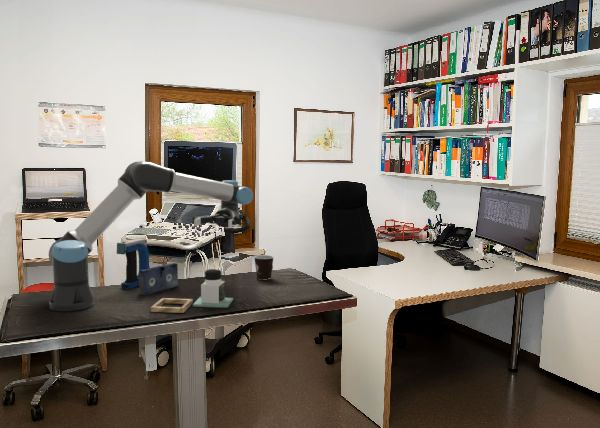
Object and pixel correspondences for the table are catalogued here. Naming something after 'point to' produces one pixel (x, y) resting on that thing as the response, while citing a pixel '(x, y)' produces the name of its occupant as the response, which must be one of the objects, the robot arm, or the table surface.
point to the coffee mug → (263, 266)
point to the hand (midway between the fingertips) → (212, 223)
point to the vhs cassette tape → (158, 278)
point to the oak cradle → (182, 309)
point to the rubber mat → (224, 303)
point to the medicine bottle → (213, 287)
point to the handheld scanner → (134, 260)
